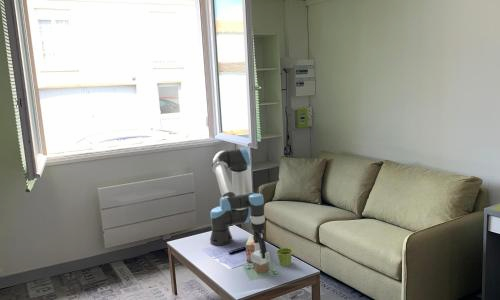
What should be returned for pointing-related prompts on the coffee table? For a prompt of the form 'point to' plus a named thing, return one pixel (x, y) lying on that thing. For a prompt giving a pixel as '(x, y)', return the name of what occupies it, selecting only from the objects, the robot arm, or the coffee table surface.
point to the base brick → (261, 267)
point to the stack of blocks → (250, 248)
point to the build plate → (253, 275)
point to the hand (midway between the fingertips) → (260, 258)
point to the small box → (259, 257)
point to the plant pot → (284, 256)
